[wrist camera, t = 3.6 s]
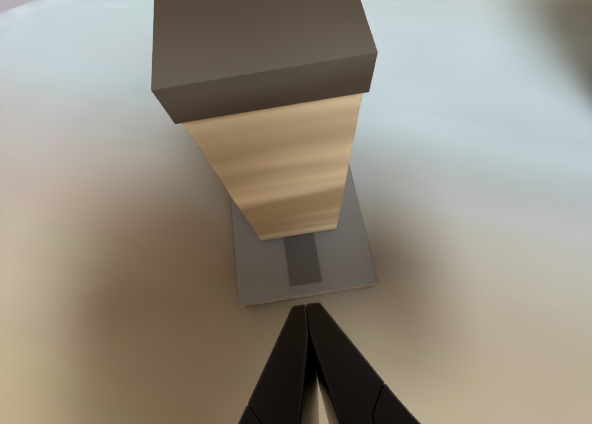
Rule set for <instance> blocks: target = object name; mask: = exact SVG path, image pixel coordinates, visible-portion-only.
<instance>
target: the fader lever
mask: <svg viewBox="0 0 592 424" xmlns="http://www.w3.org/2000/svg"><path fill="white" fill-rule="evenodd" d="M377 53H378V52H377V49H376V46H375V43H374V40H373V37H372V34H371V31H370V28H369V25H368V22H367V19H366V16H365V12H364V9H363V6H362V3H361V0H154V22H153V53H152V83H151V91H152V92H153V93H154V95H155V96H156V98H157V99H158V100H159V102H160V103H161V105H162V106H163V107H164V109H165V110H166V112H167V113H168V115H169V116H170V117H171V119H172V120H173V122H174V123H175V124H178V123H182V124H183V125H184V127H185V128H186V130H187V131H188V133H189V134H190V136H191V137H192V139H193V140H194V142H195V143H196V145H197V146H198V148H199V149H200V151H201V152H202V154H203V155H204V156H205V158H206V159H207V161H208V162H209V164H210V165H211V167H212V168H213V170H214V171H215V173H216V174H217V176H218V177H219V179H220V180H221V182H222V183H223V185H224V186H225V188H226V189H227V191H228V192H229V194H230V195H231V197H232V198H233V200H234V201H235V203H236V204H237V206H238V207H239V209H240V210H241V212H242V213H243V215H244V216H245V218H246V219H247V221H248V222H249V224H250V225H251V227H252V228H253V230H254V231H255V233H256V234H257V236H258V237H259V239H260V240H261V241H263V240H269V239H275V238H282V237H288V236H294V235H300V234H306V233H313V232H319V231H325V230H331V229H336V228H337V223H338V218H339V213H340V207H341V202H342V197H343V192H344V187H345V181H346V176H347V171H348V166H349V161H350V155H351V150H352V145H353V140H354V135H355V129H356V124H357V119H358V114H359V109H360V103H361V98H362V93H366V92H369V89H370V85H371V80H372V76H373V71H374V67H375V62H376V58H377Z"/></svg>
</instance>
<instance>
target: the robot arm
mask: <svg viewBox="0 0 592 424" xmlns="http://www.w3.org/2000/svg"><path fill="white" fill-rule="evenodd" d="M316 372H317V373H316ZM317 378H318V382H317ZM318 383H319V387H320V391H321V395H322V399H323V403H324V406H325V410H326V414H327V418H328V422H329V424H421V423H420V422H419V421H418V420H417V419H416V418H415V417H414V416H413V415H412V414H411V413H410V412H409V411H408V410H407V408H406V407H405V406H404V405H403V404H402V403H401V401H400V400H399V399H398V398H397V397H396V396H395V394H394V393H393V392H392V391H391V389H390V388H389V387H388V386H387V385H386V384H384V381H383V380H382V379H381V377H380V376H379V375H378V374H377V372H376V371H375V370H374V369H373V368H372V366H371V365H370V364H369V363H368V361H367V360H366V359H365V358H364V356H363V355H362V354H361V353H360V351H359V350H358V349H357V348H356V347H355V345H354V344H353V343H352V342H351V340H350V339H349V338H348V337H347V335H346V334H345V333H344V332H343V331H342V329H341V328H340V327H339V326H338V324H337V323H336V322H335V321H334V319H333V318H332V317H331V316H330V315H329V313H328V312H327V311H326V310H325V308H324V307H323V306H322V305H321V304H320V303H319V302H317V303H311V304H307V306H306V305H298V306H293V307H292V309H291V311H290V313H289V315H288V317H287V319H286V322H285V324H284V326H283V328H282V330H281V332H280V335H279V337H278V339H277V341H276V343H275V345H274V348H273V350H272V352H271V354H270V356H269V358H268V361H267V363H266V365H265V367H264V369H263V371H262V374H261V376H260V378H259V380H258V382H257V384H256V387H255V389H254V391H253V393H252V395H251V398H250V400H249V402H248V406H246V408H245V410H244V412H243V415H242V417H241V419H240V421H239V423H238V424H319V411H318Z"/></svg>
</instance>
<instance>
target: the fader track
mask: <svg viewBox="0 0 592 424" xmlns="http://www.w3.org/2000/svg"><path fill="white" fill-rule="evenodd" d="M230 197H231V195H230ZM231 211H232V224H233V237H234V251H235V264H236V277H237V291H238V304H239V305H241V306H252V305H258V304H264V303H271V302H277V301H283V300H290V299H296V298H302V297H309V296H315V295H321V294H328V293H334V292H340V291H347V290H353V289H359V288H365V287H372V286H374V285H375V284H377V283H378V282H377V278H376V274H375V270H374V266H373V261H372V257H371V253H370V249H369V245H368V241H367V236H366V232H365V228H364V224H363V220H362V216H361V211H360V207H359V203H358V199H357V195H356V190H355V186H354V182H353V178H352V174H351V170H350V165H349V166H348V171H347V176H346V181H345V187H344V192H343V197H342V202H341V207H340V213H339V218H338V223H337V228H336V229H331V230H325V231H319V232H313V233H306V234H300V235H294V236H288V237H282V238H275V239H269V240H263V241H261V240H260V239H259V237H258V236H257V234H256V233H255V231H254V230H253V228H252V227H251V225H250V224H249V222H248V221H247V219H246V218H245V216H244V215H243V213H242V212H241V210H240V209H239V207H238V206H237V204H236V203H235V201H234V200H233V198H232V197H231Z"/></svg>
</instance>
